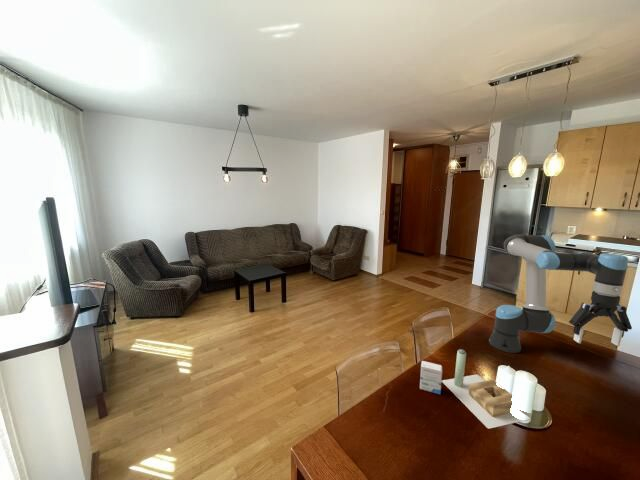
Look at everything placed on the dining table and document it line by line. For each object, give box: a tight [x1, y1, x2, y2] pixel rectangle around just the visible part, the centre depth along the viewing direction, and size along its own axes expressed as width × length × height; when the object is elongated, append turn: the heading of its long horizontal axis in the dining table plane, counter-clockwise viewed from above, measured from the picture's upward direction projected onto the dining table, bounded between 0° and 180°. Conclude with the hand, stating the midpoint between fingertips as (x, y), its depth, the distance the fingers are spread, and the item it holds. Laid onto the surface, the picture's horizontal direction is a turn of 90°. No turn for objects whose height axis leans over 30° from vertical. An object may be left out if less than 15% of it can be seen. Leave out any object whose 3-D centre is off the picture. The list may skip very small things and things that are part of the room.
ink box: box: [419, 360, 443, 395], centre depth 116 cm, size 9×5×12 cm, turn 65°
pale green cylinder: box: [454, 348, 467, 387], centre depth 117 cm, size 4×4×17 cm
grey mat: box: [441, 373, 523, 429], centre depth 111 cm, size 26×20×1 cm
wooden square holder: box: [469, 379, 513, 417], centre depth 108 cm, size 12×12×5 cm
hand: (595, 342), depth 106 cm, fingers open, 13 cm apart
